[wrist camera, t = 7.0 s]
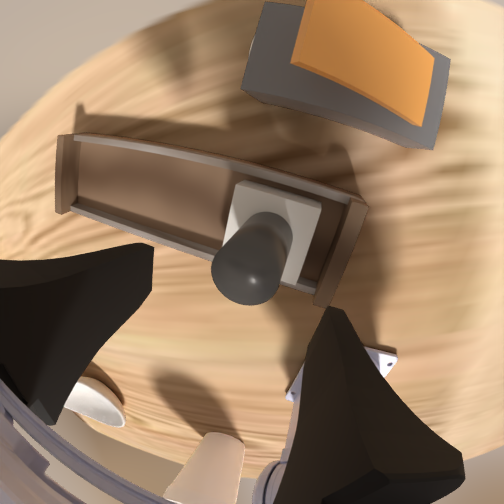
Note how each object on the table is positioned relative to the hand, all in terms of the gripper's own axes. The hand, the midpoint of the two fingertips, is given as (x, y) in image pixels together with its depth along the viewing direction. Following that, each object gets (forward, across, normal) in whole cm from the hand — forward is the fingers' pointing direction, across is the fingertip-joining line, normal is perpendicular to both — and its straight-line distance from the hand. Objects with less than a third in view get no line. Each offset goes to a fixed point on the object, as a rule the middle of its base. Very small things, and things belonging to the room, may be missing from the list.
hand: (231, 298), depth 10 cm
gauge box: (+10, -2, -10) cm, 15 cm away
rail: (+10, +7, 0) cm, 13 cm away
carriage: (+9, 0, 0) cm, 9 cm away
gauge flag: (+3, -3, -11) cm, 11 cm away
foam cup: (+11, -2, +34) cm, 36 cm away
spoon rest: (+11, +25, +38) cm, 47 cm away
